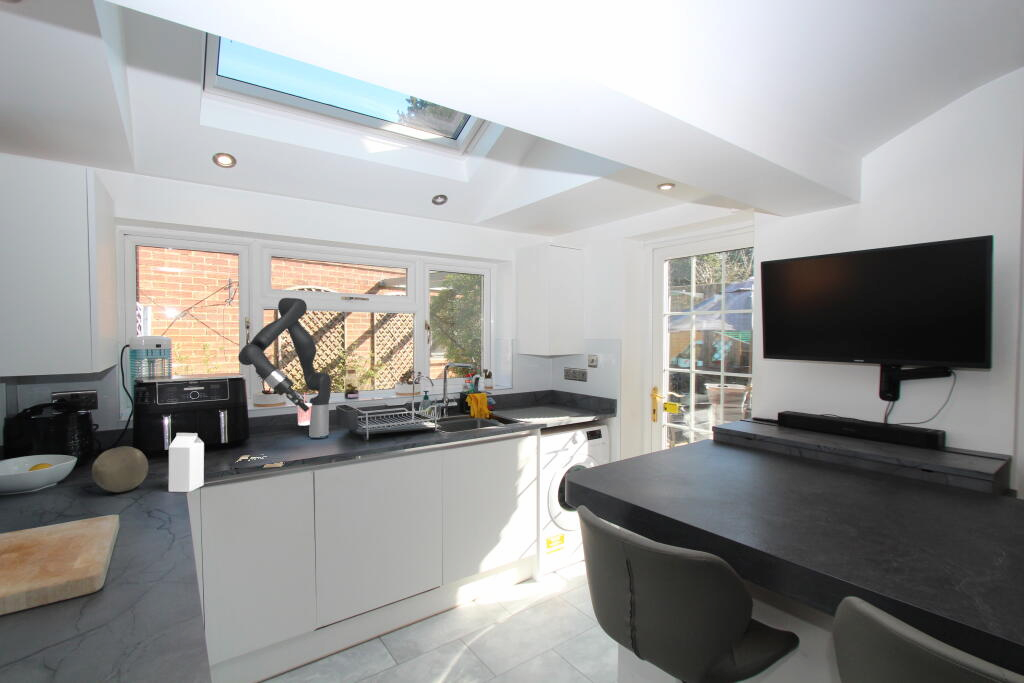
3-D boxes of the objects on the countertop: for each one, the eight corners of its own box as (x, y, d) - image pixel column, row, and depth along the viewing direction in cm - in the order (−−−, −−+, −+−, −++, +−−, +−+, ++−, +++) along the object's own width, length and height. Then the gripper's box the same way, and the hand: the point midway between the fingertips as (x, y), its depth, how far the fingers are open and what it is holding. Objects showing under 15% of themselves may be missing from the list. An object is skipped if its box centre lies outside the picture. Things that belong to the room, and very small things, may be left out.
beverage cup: (307, 422, 211) (307, 391, 211) (314, 424, 207) (315, 392, 207) (293, 424, 206) (294, 392, 206) (300, 426, 202) (301, 393, 202)
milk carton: (189, 492, 157) (189, 435, 157) (168, 492, 158) (168, 435, 157) (203, 485, 164) (204, 431, 164) (183, 485, 165) (184, 430, 164)
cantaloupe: (104, 488, 161) (104, 443, 160) (154, 484, 166) (154, 441, 165) (83, 502, 147) (83, 453, 147) (138, 497, 152) (139, 450, 152)
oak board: (242, 457, 202) (242, 455, 202) (288, 455, 207) (288, 452, 207) (230, 469, 184) (230, 466, 184) (281, 466, 190) (281, 463, 190)
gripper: (283, 377, 197) (313, 405, 201) (288, 374, 211) (316, 400, 215) (269, 390, 196) (299, 418, 199) (275, 386, 210) (303, 412, 213)
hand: (308, 409), depth 207 cm, fingers closed on beverage cup, 6 cm apart
